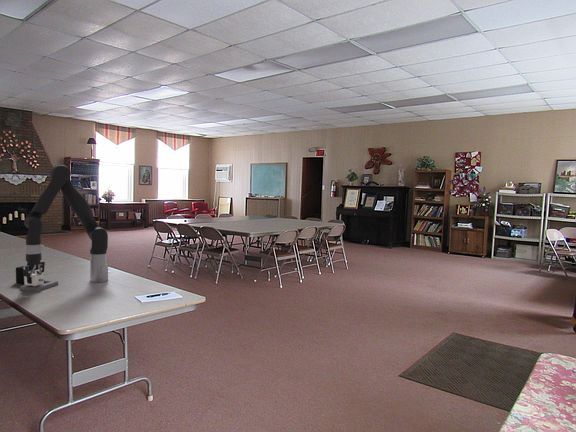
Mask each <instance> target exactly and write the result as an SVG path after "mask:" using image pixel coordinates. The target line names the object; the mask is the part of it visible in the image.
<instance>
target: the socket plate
mask: <svg viewBox="0 0 576 432" xmlns="http://www.w3.org/2000/svg"><path fill="white" fill-rule="evenodd" d="M58 285H59V281H58V280H48V279H44V283H43V284H39V285H38V286H37V285H36V287H32V286H31V285H24V284H22V285H21V286H19V291H24V292H25V291H27V292H36V293H37V292H40V291H45V290H47V289H49V288H53V287H55V286H58Z"/></svg>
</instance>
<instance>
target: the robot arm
mask: <svg viewBox="0 0 576 432" xmlns="http://www.w3.org/2000/svg"><path fill="white" fill-rule="evenodd" d="M49 175H50V177H51V180H50V181H49V184H48V185H47V187H45V189H44V190H43V191H42V193H41V194H40V196H39V197H38V199H37V200H36V202H35V204H34V206H33V208H32V209H31V210H30V212H28V214H27V215H26V217H25V219H24V221H23V224H24V227H25V228H27V234H26V235H25V262H26V265H22V269H23V276H25V277H27V283H28V284H31V283H32V277H31V276H32V273H34V271H35V274H43V273H44V272H45V266H46V264H45V263H46V261H42V260H43V259H42V255H43V254H42V241H41V240H42V237H41V236H42V231H43V222H42V220H41V219H42V217H44V216H45V215H47V213H48V212H49V209H50V208H51V206H52V204H53V202H54V200H55V199H56V196H57V195H58V193H59V191H61V193H62V194H63V196H64V198H65V201H66V202H67V203H68V205H69V207H70V208H71V210H72V212H73V213H74V214H75V216H76V218H78V220H79V221H80V222H81V223H82V225H83V227H84V230H85V232H86V233H87V236H88V238H89V239H90V240H91V248H90V249H89V279H90V280H89V281H90V282H92V283H104V282H107V281H109V265H108V264H107V262H108V261H107V257H108V256H107V250H108V246H109V242H108V241H109V237H108V236H109V235H108V231H107V230H106V229H105V228H103V227H101V226H100V225H99V224H98V222H97V221H96V219H95V217H94V215H93V211H92V208H91V206H90V204H89V202H88V201H87V199H86V198H85V196H84V195H83V194H82V193H81V192H80V191H79V190H78V188H76V186H75V185H74V183H73V182H72V180H71V178H70V177H71V175H72V172H71V169H70V168H69V167H68V166H66V165H63V164H59V165H53V166H52V167H51V168H50V170H49ZM29 270H30V271H29ZM29 273H30V275H29Z"/></svg>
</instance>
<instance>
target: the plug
mask: <svg viewBox="0 0 576 432" xmlns="http://www.w3.org/2000/svg"><path fill="white" fill-rule="evenodd" d="M29 275H30V274H29ZM31 277H32V283H31V284H28V283H27V277H25V276H24V284H23V285H31V286H32V287H36V285H37V286H38V285H39V284H43V283H44V280H45V277H44V274H43V273H42V274H37V273H35V274H32V276H31Z"/></svg>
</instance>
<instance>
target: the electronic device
mask: <svg viewBox="0 0 576 432" xmlns="http://www.w3.org/2000/svg"><path fill="white" fill-rule="evenodd" d="M22 266H23V265H22ZM22 266H17V267H15V284H19V285H24V276H23V269H22ZM29 271H30V270H29ZM29 274H30V273H29ZM32 274H36V271H34V273H32Z"/></svg>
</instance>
